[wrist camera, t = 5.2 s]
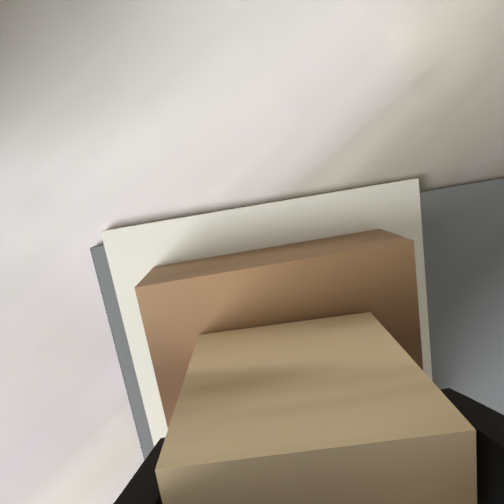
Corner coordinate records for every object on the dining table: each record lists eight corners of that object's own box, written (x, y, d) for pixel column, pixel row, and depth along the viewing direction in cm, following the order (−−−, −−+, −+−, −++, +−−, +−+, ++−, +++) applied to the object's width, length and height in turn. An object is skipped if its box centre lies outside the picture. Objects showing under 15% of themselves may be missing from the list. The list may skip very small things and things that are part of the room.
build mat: (538, 570, 17) (546, 579, 16) (192, 632, 16) (191, 644, 16) (536, 158, 13) (546, 157, 13) (90, 232, 13) (85, 234, 12)
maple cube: (381, 460, 11) (480, 671, 7) (224, 480, 12) (206, 700, 7) (370, 312, 10) (476, 429, 6) (199, 334, 11) (154, 469, 6)
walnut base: (397, 427, 14) (431, 478, 12) (197, 462, 14) (189, 521, 12) (379, 228, 13) (413, 240, 10) (154, 266, 13) (134, 287, 10)
